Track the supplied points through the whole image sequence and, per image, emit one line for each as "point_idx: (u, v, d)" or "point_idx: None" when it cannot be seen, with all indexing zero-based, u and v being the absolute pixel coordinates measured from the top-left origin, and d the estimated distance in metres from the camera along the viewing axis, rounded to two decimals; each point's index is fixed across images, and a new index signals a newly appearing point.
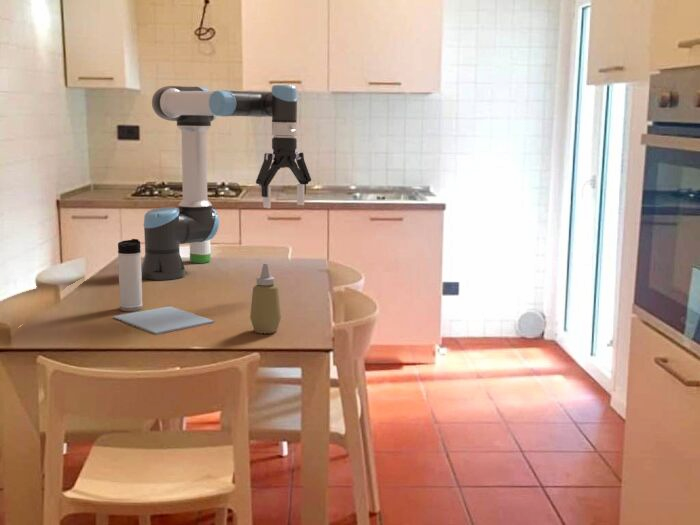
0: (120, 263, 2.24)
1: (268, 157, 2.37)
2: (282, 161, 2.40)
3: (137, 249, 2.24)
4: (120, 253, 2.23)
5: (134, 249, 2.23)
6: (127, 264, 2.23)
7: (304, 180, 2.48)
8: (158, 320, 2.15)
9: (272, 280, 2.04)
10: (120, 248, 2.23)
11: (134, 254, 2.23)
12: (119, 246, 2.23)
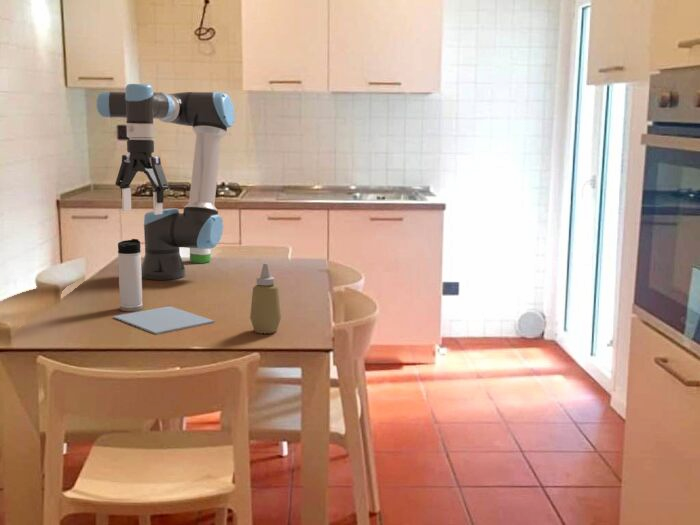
0: (120, 263, 2.24)
1: None
2: (131, 164, 2.29)
3: (137, 249, 2.24)
4: (120, 253, 2.23)
5: (134, 249, 2.23)
6: (127, 264, 2.23)
7: (155, 187, 2.25)
8: (158, 320, 2.15)
9: (272, 280, 2.04)
10: (120, 248, 2.23)
11: (134, 254, 2.23)
12: (119, 246, 2.23)
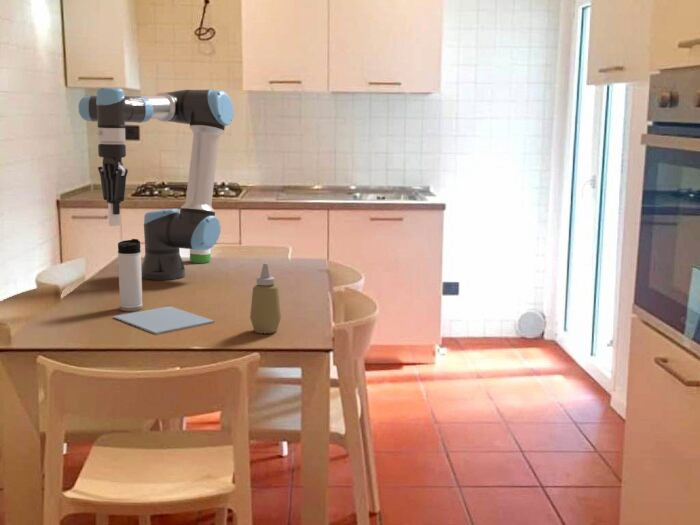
0: (120, 263, 2.24)
1: None
2: (104, 170, 2.27)
3: (137, 249, 2.24)
4: (120, 253, 2.23)
5: (134, 249, 2.23)
6: (127, 264, 2.23)
7: (112, 198, 2.27)
8: (158, 320, 2.15)
9: (272, 280, 2.04)
10: (120, 248, 2.23)
11: (134, 254, 2.23)
12: (119, 246, 2.23)
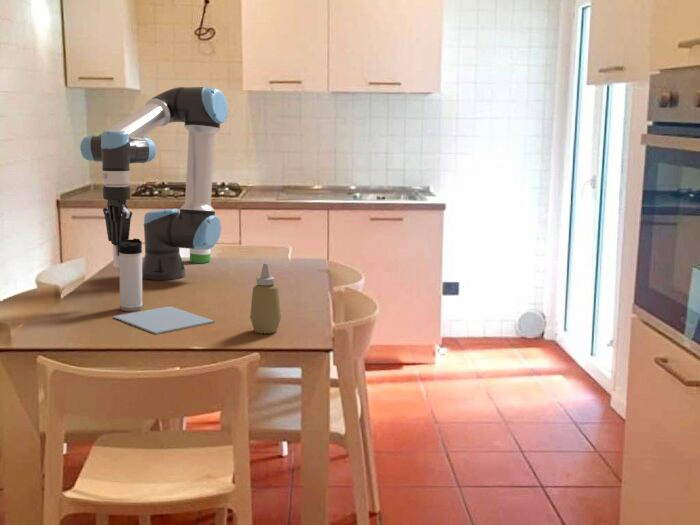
0: (121, 263, 2.23)
1: None
2: (109, 212, 2.28)
3: (138, 249, 2.23)
4: (121, 253, 2.23)
5: (136, 249, 2.23)
6: (128, 264, 2.23)
7: (116, 240, 2.27)
8: (158, 320, 2.15)
9: (272, 280, 2.04)
10: (121, 248, 2.22)
11: (135, 254, 2.23)
12: (120, 246, 2.22)
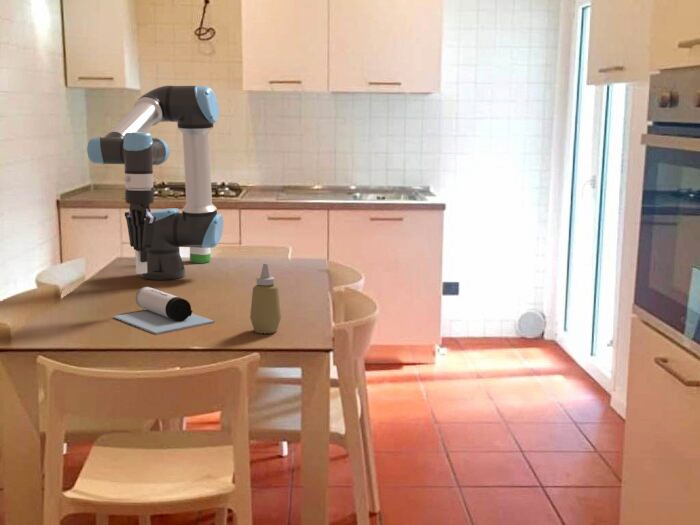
0: (162, 299, 2.16)
1: None
2: (131, 216, 2.19)
3: (172, 318, 2.14)
4: (167, 302, 2.14)
5: (170, 317, 2.13)
6: (159, 307, 2.16)
7: (139, 246, 2.19)
8: (158, 320, 2.15)
9: (272, 280, 2.04)
10: (170, 303, 2.13)
11: (167, 315, 2.14)
12: (172, 302, 2.12)
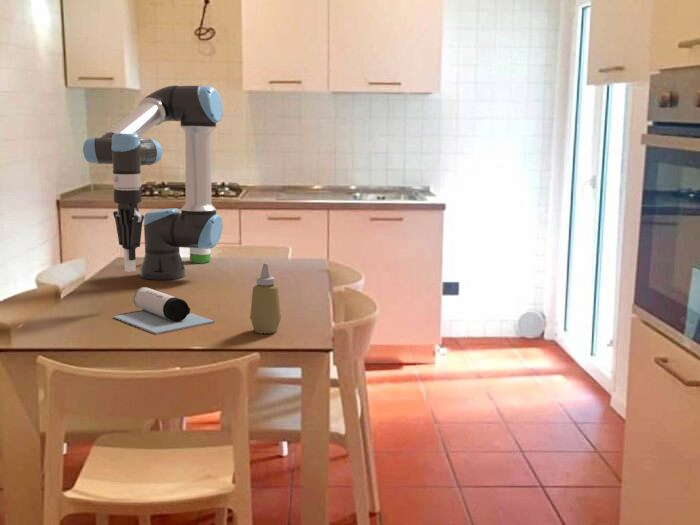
0: (158, 302, 2.15)
1: None
2: (120, 215, 2.24)
3: None
4: (164, 304, 2.13)
5: (169, 319, 2.13)
6: (157, 310, 2.15)
7: (127, 244, 2.24)
8: (158, 320, 2.15)
9: (272, 280, 2.04)
10: (166, 305, 2.12)
11: (166, 317, 2.14)
12: (168, 304, 2.12)
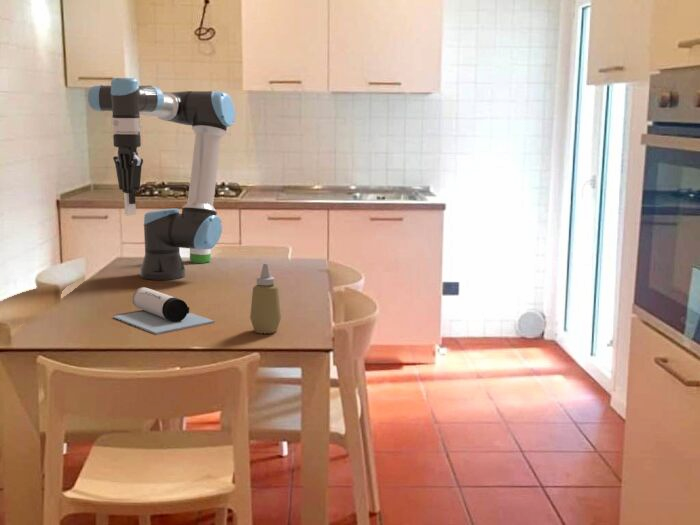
0: (157, 303, 2.15)
1: None
2: (120, 160, 2.28)
3: None
4: (162, 305, 2.13)
5: (169, 319, 2.13)
6: (157, 311, 2.15)
7: (127, 188, 2.28)
8: (158, 320, 2.15)
9: (272, 280, 2.04)
10: (165, 306, 2.12)
11: (166, 318, 2.14)
12: (167, 305, 2.12)
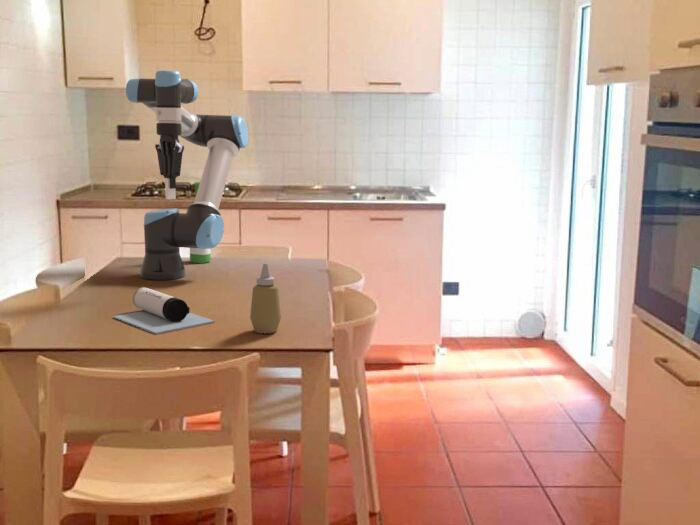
0: (157, 303, 2.15)
1: None
2: (162, 147, 2.44)
3: None
4: (163, 305, 2.13)
5: (169, 319, 2.13)
6: (157, 311, 2.15)
7: (168, 173, 2.44)
8: (158, 320, 2.15)
9: (272, 280, 2.04)
10: (166, 306, 2.12)
11: (166, 318, 2.14)
12: (167, 305, 2.12)
